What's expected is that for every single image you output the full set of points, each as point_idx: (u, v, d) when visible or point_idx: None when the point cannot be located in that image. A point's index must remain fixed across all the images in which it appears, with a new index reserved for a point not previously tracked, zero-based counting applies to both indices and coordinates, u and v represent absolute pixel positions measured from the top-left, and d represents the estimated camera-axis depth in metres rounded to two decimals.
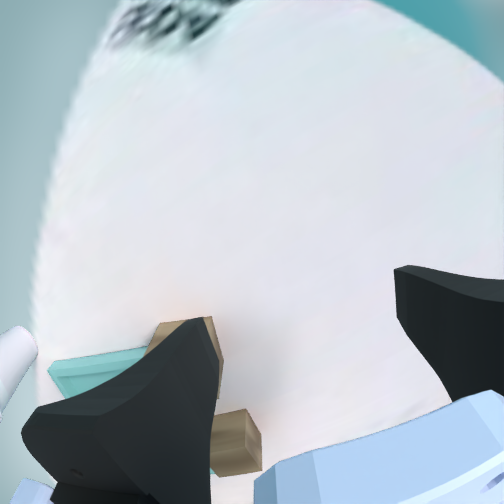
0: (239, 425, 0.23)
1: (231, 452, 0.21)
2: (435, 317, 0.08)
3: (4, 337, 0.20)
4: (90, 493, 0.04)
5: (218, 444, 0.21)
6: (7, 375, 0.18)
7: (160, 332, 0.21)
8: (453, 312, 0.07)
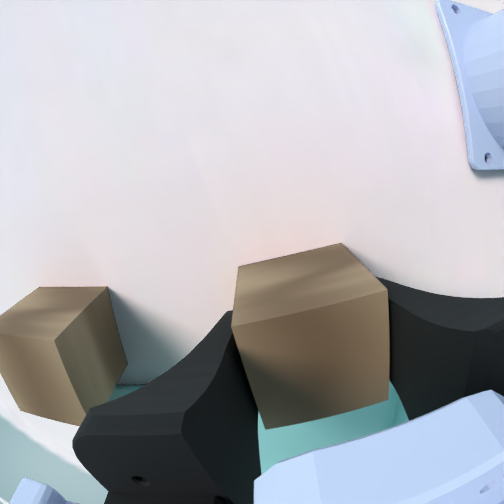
0: None
1: (257, 364, 0.08)
2: (391, 332, 0.08)
3: None
4: (154, 501, 0.04)
5: None
6: None
7: None
8: (404, 330, 0.07)
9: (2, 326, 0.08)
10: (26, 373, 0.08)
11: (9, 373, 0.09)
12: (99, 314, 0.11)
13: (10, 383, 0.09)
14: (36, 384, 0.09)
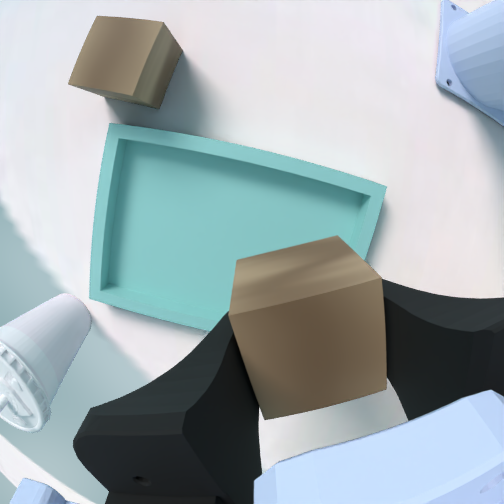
0: None
1: (255, 353, 0.08)
2: (390, 333, 0.08)
3: None
4: (154, 501, 0.04)
5: None
6: (28, 323, 0.14)
7: None
8: (404, 330, 0.07)
9: (113, 20, 0.11)
10: (112, 45, 0.11)
11: (92, 47, 0.11)
12: (173, 54, 0.14)
13: (84, 55, 0.12)
14: (114, 54, 0.12)
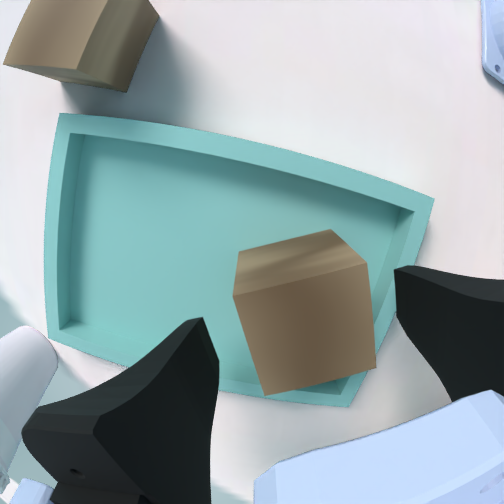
0: None
1: (255, 331, 0.09)
2: (435, 317, 0.08)
3: None
4: (90, 493, 0.04)
5: None
6: None
7: None
8: (453, 312, 0.07)
9: None
10: (57, 7, 0.06)
11: (34, 13, 0.06)
12: (145, 18, 0.10)
13: (24, 25, 0.07)
14: (58, 17, 0.07)
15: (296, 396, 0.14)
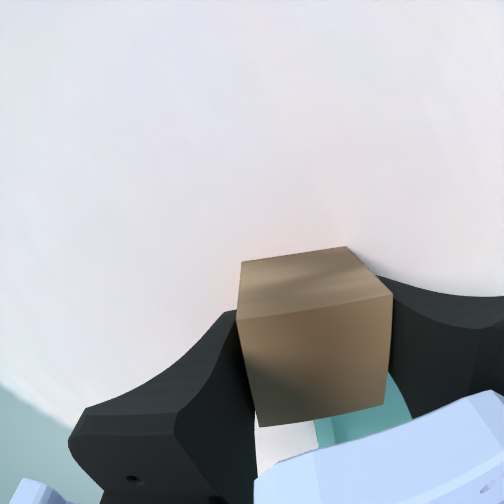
0: None
1: None
2: (394, 332, 0.08)
3: None
4: (149, 501, 0.04)
5: None
6: None
7: None
8: (408, 329, 0.07)
9: (270, 306, 0.08)
10: (314, 363, 0.08)
11: (272, 375, 0.08)
12: None
13: (265, 389, 0.08)
14: (326, 372, 0.08)
15: None
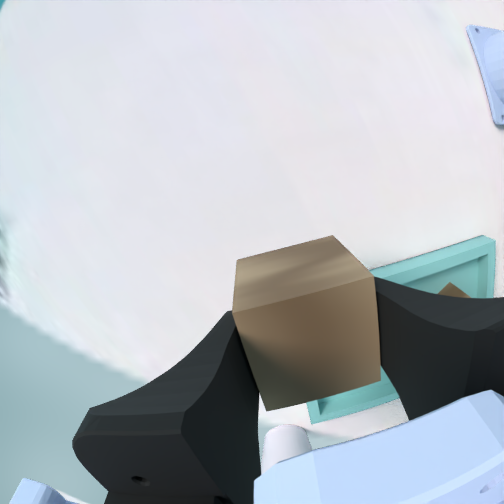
0: None
1: None
2: (391, 332, 0.08)
3: (262, 459, 0.21)
4: (154, 501, 0.04)
5: None
6: None
7: None
8: (405, 330, 0.07)
9: (262, 297, 0.09)
10: (308, 345, 0.09)
11: (271, 360, 0.09)
12: None
13: (267, 374, 0.09)
14: (321, 354, 0.09)
15: None
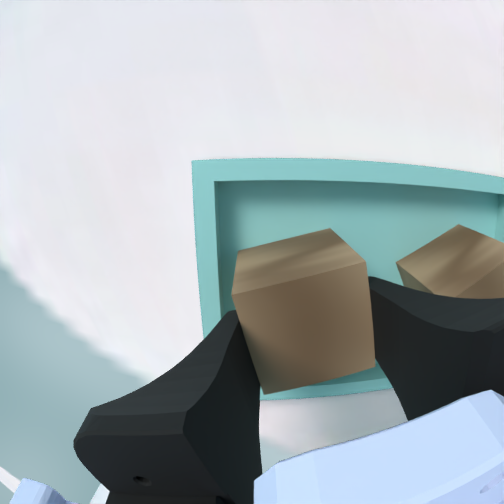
0: (417, 287, 0.12)
1: None
2: (390, 333, 0.08)
3: None
4: (155, 501, 0.04)
5: None
6: None
7: None
8: (403, 330, 0.07)
9: (260, 281, 0.09)
10: (304, 328, 0.09)
11: (268, 342, 0.09)
12: None
13: (264, 357, 0.10)
14: (316, 337, 0.09)
15: None
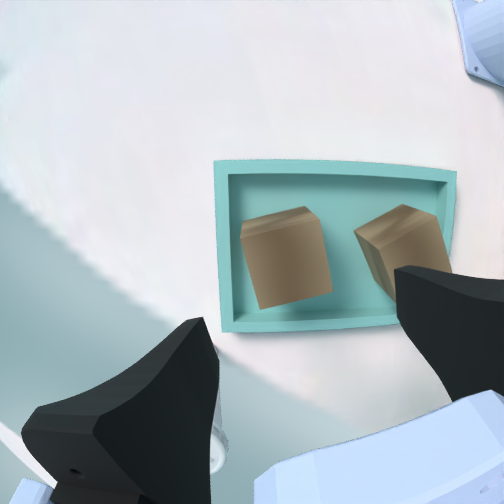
0: (366, 244, 0.18)
1: (392, 266, 0.16)
2: (436, 317, 0.08)
3: None
4: (90, 493, 0.04)
5: (386, 279, 0.17)
6: None
7: None
8: (453, 312, 0.07)
9: (257, 231, 0.16)
10: (283, 261, 0.16)
11: (262, 270, 0.16)
12: None
13: (259, 280, 0.16)
14: (292, 267, 0.16)
15: None
